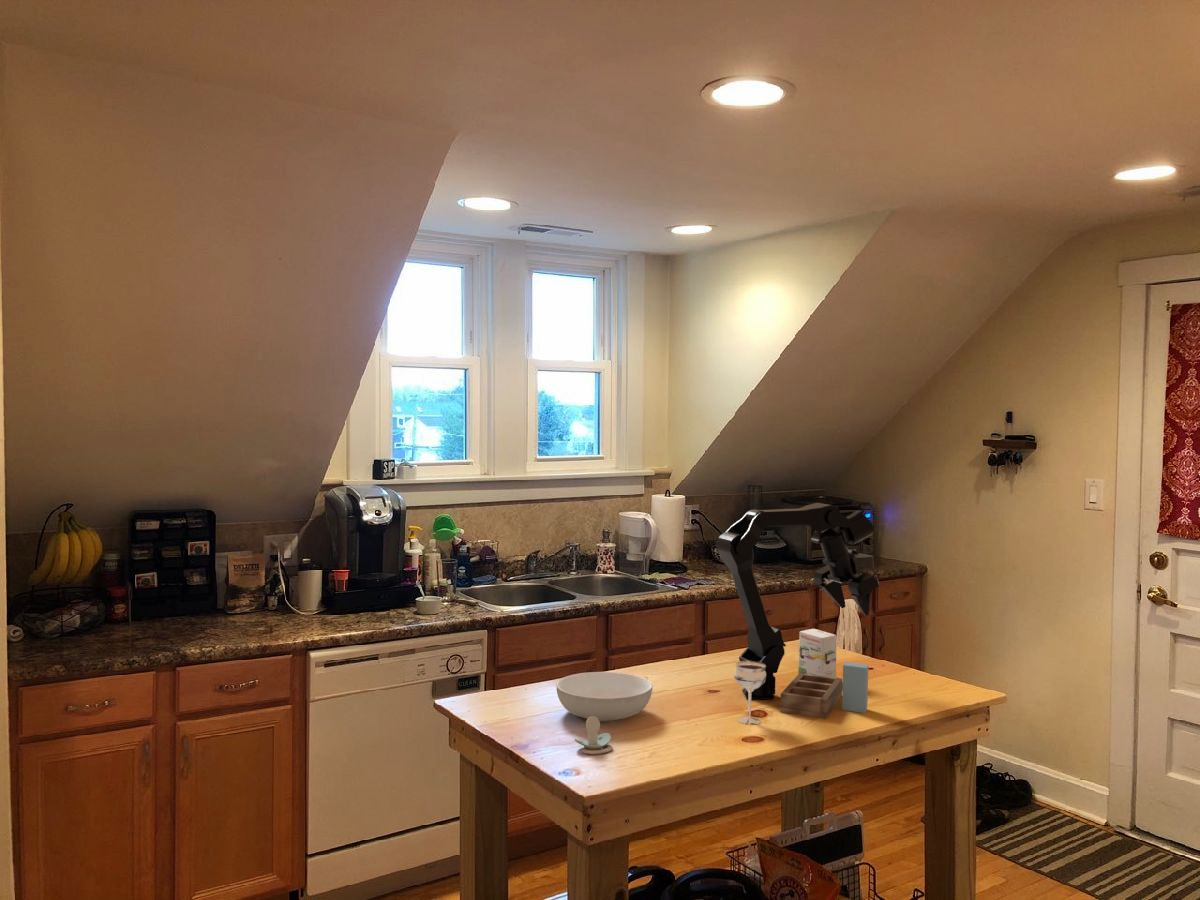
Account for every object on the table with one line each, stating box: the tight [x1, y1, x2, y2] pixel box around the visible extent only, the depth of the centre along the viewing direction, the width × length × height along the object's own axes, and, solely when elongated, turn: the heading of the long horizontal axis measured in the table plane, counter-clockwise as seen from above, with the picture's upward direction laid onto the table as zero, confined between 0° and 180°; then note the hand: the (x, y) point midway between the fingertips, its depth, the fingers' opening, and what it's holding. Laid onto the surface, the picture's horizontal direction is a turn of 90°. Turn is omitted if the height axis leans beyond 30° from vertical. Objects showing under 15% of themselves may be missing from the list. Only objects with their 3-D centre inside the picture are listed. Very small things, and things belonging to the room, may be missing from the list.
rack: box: [779, 673, 843, 719], centre depth 210 cm, size 10×19×4 cm, turn 155°
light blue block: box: [841, 661, 869, 714], centre depth 206 cm, size 5×3×10 cm, turn 65°
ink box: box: [797, 628, 838, 678], centre depth 230 cm, size 8×5×12 cm, turn 32°
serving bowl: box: [555, 671, 654, 722], centre depth 200 cm, size 21×21×7 cm
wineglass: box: [733, 660, 766, 726], centre depth 198 cm, size 7×7×12 cm
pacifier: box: [574, 716, 614, 755], centre depth 179 cm, size 7×6×6 cm
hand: (855, 611), depth 225 cm, fingers open, 9 cm apart
